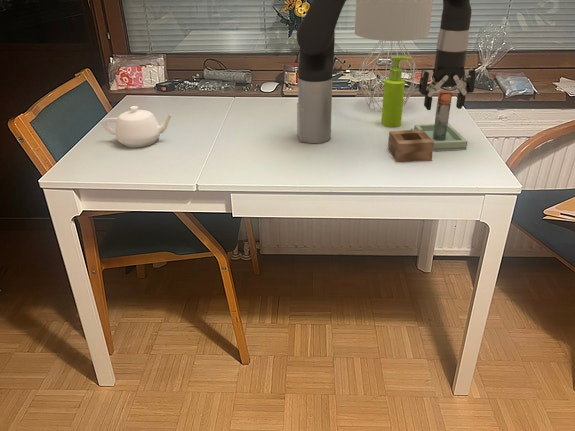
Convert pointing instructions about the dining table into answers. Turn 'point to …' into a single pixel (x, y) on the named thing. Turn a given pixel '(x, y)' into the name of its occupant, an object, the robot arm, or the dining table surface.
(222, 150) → the dining table surface
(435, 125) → the grey and copper cylinder
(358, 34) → the table lamp
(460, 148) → the tray
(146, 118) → the teapot
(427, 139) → the hitch block
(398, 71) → the soap dispenser
